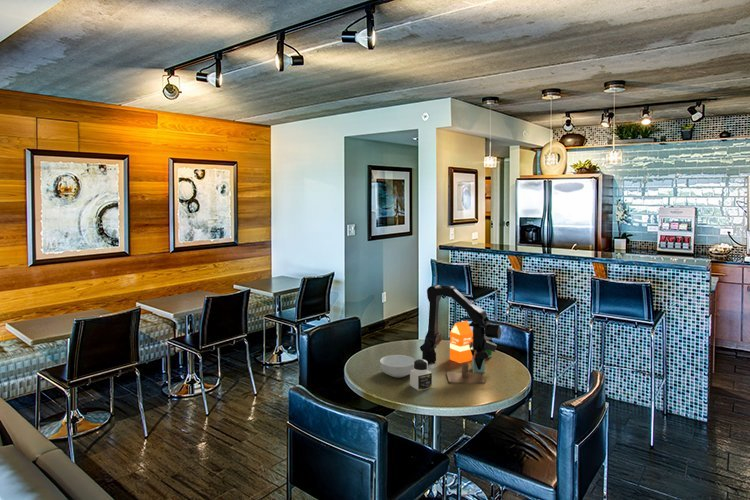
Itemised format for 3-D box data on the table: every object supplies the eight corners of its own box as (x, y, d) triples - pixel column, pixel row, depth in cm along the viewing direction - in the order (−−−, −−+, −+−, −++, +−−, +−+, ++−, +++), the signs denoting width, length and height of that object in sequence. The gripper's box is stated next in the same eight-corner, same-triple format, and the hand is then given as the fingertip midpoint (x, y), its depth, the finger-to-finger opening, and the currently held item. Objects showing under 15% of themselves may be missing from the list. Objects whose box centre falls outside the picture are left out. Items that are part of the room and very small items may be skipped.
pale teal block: (473, 372, 238) (473, 358, 238) (471, 368, 244) (472, 355, 243) (484, 372, 238) (484, 358, 237) (482, 368, 243) (482, 355, 243)
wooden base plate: (449, 383, 224) (449, 368, 224) (446, 373, 236) (446, 359, 236) (484, 383, 224) (485, 368, 223) (480, 374, 236) (480, 359, 235)
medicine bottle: (418, 391, 216) (418, 364, 215) (409, 385, 222) (409, 359, 221) (432, 388, 219) (432, 361, 218) (423, 382, 226) (423, 357, 224)
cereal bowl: (374, 378, 231) (374, 363, 230) (386, 367, 247) (386, 353, 246) (410, 383, 225) (410, 368, 225) (419, 370, 241) (419, 356, 240)
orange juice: (472, 360, 256) (473, 322, 254) (460, 363, 251) (460, 324, 249) (461, 356, 263) (462, 319, 260) (449, 359, 258) (449, 321, 256)
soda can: (492, 359, 257) (492, 336, 256) (477, 358, 259) (477, 335, 257) (491, 354, 264) (492, 332, 263) (477, 353, 266) (477, 332, 265)
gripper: (499, 341, 229) (499, 374, 231) (491, 330, 248) (491, 361, 250) (475, 341, 230) (475, 374, 232) (469, 330, 248) (468, 361, 250)
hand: (478, 367), depth 241 cm, fingers open, 6 cm apart
